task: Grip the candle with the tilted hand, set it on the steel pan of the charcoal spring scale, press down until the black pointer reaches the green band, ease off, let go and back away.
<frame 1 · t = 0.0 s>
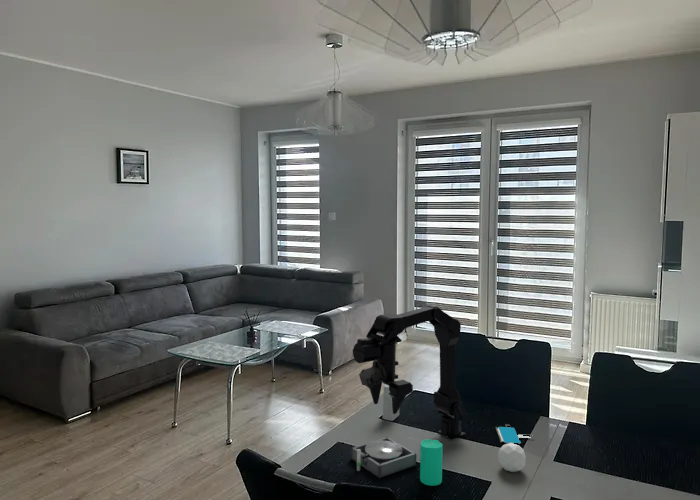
hand: (385, 408, 161), 15 cm above the table, tool pointing down, fingers open, 9 cm apart
candle: (430, 480, 148), on the table
skincare box: (391, 418, 192), on the table
phone stand: (514, 439, 177), on the table
geometric ball: (511, 470, 154), on the table
scale pan: (380, 451, 157), point 4 cm above the table, slide at 0.4 cm
scale housing: (383, 462, 158), on the table
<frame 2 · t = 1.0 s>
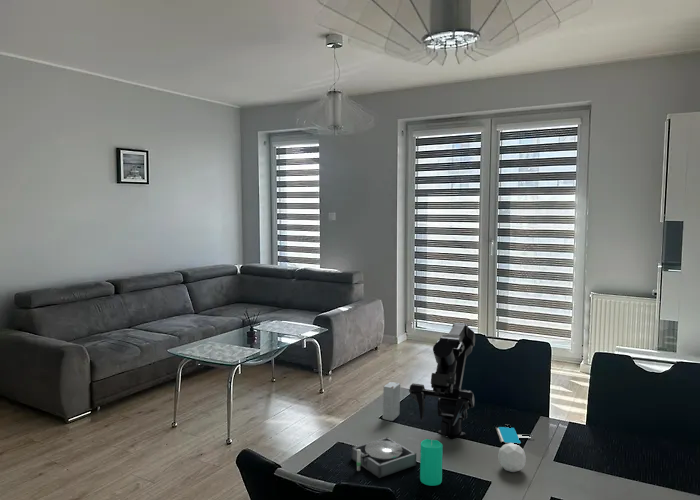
hand: (437, 422, 155), 13 cm above the table, tool tilted 45°, fingers open, 9 cm apart
nothing on the table moved.
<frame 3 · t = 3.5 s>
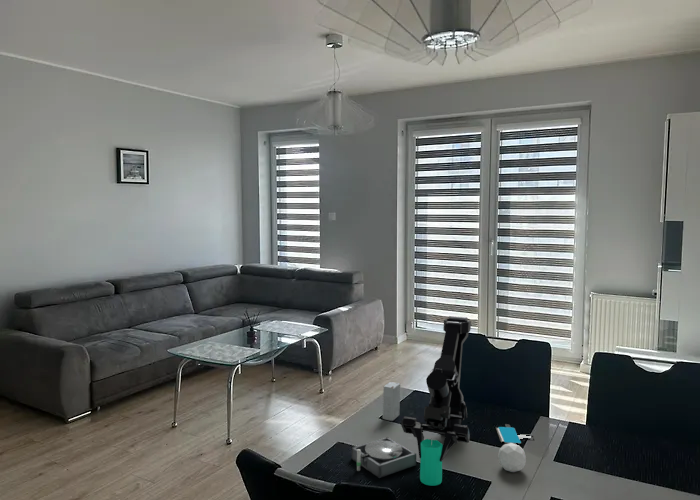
hand: (430, 459, 146), 7 cm above the table, tool tilted 45°, fingers closed on candle, 5 cm apart
candle: (430, 480, 148), on the table, touching gripper
everything else where it was.
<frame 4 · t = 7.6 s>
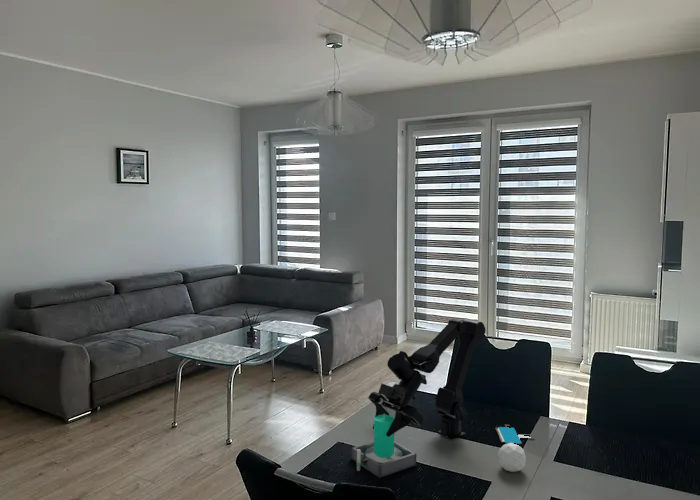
hand: (380, 432, 157), 9 cm above the table, tool tilted 45°, fingers closed on candle, 5 cm apart
candle: (384, 453, 158), point 3 cm above the table, touching gripper, scale pan
scale pan: (380, 455, 157), point 2 cm above the table, slide at 1.8 cm, touching candle
everything else where it was.
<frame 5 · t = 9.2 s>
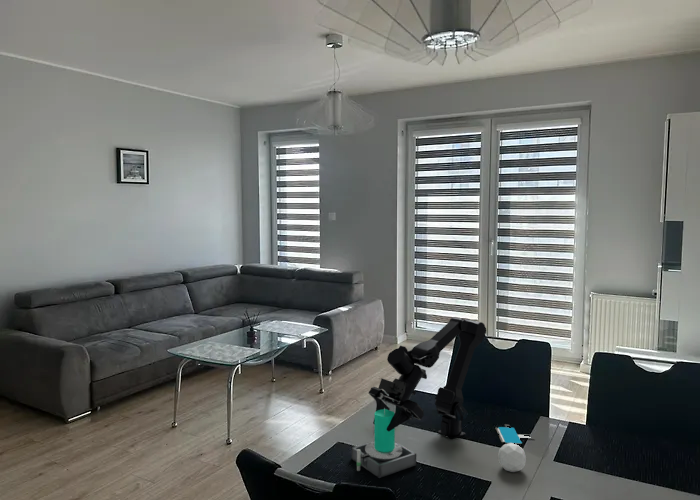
hand: (380, 427, 157), 11 cm above the table, tool tilted 45°, fingers closed on candle, 5 cm apart
candle: (384, 447, 158), point 4 cm above the table, touching gripper
scale pan: (380, 451, 157), point 4 cm above the table, slide at 0.5 cm
everything else where it was.
when the fingers open (11 cm above the table, at t = 10.2 s): candle drops 1 cm, resting on scale pan.
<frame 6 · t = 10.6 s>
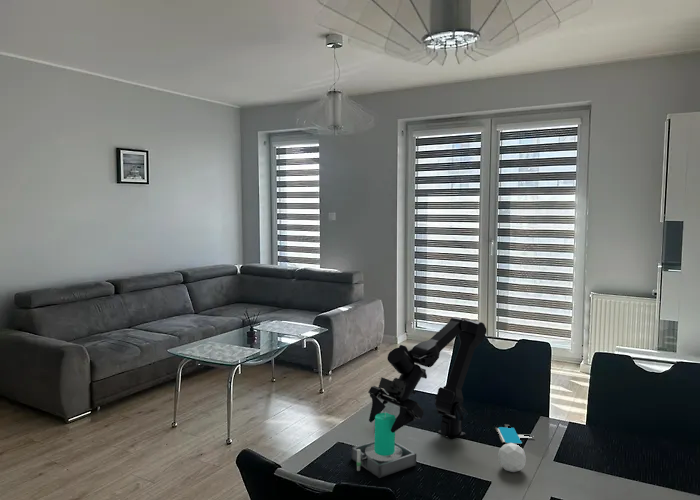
hand: (380, 426, 157), 11 cm above the table, tool tilted 45°, fingers open, 9 cm apart
candle: (384, 451, 158), point 3 cm above the table, touching scale pan
scale pan: (380, 454, 157), point 3 cm above the table, slide at 1.2 cm, touching candle
everything else where it was.
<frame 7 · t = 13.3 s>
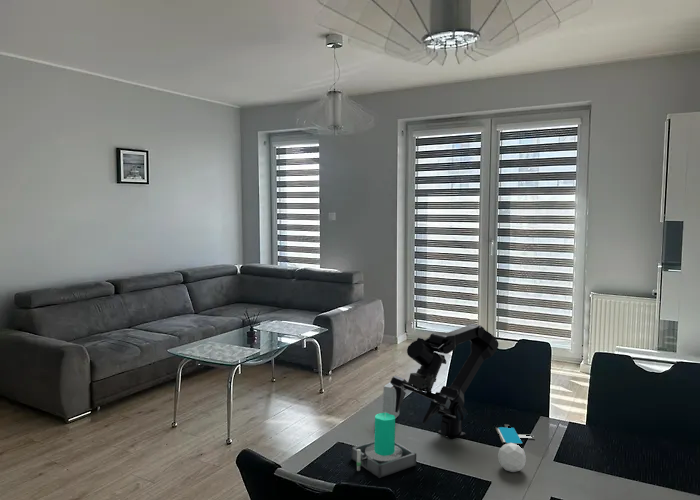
hand: (409, 418, 163), 11 cm above the table, tool tilted 35°, fingers open, 9 cm apart
nothing on the table moved.
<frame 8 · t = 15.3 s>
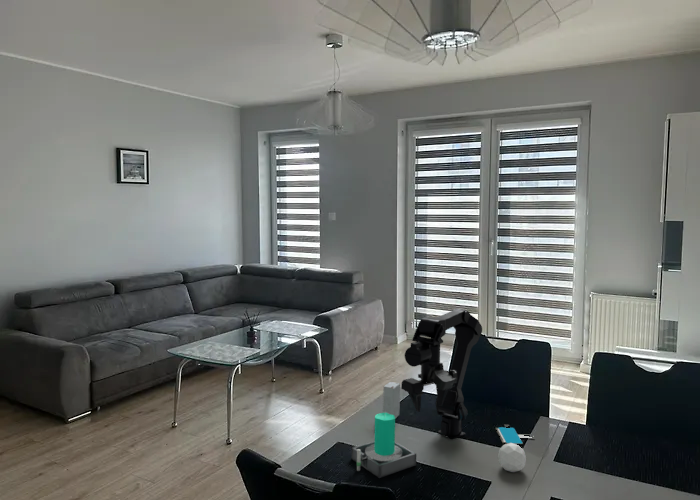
hand: (429, 408, 166), 13 cm above the table, tool pointing down, fingers open, 9 cm apart
nothing on the table moved.
at the end: candle 0.4 cm off-centre on the scale pan, point 4.3 cm above the scale pan's base; candle tilted 0°; the gripper is holding nothing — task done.
